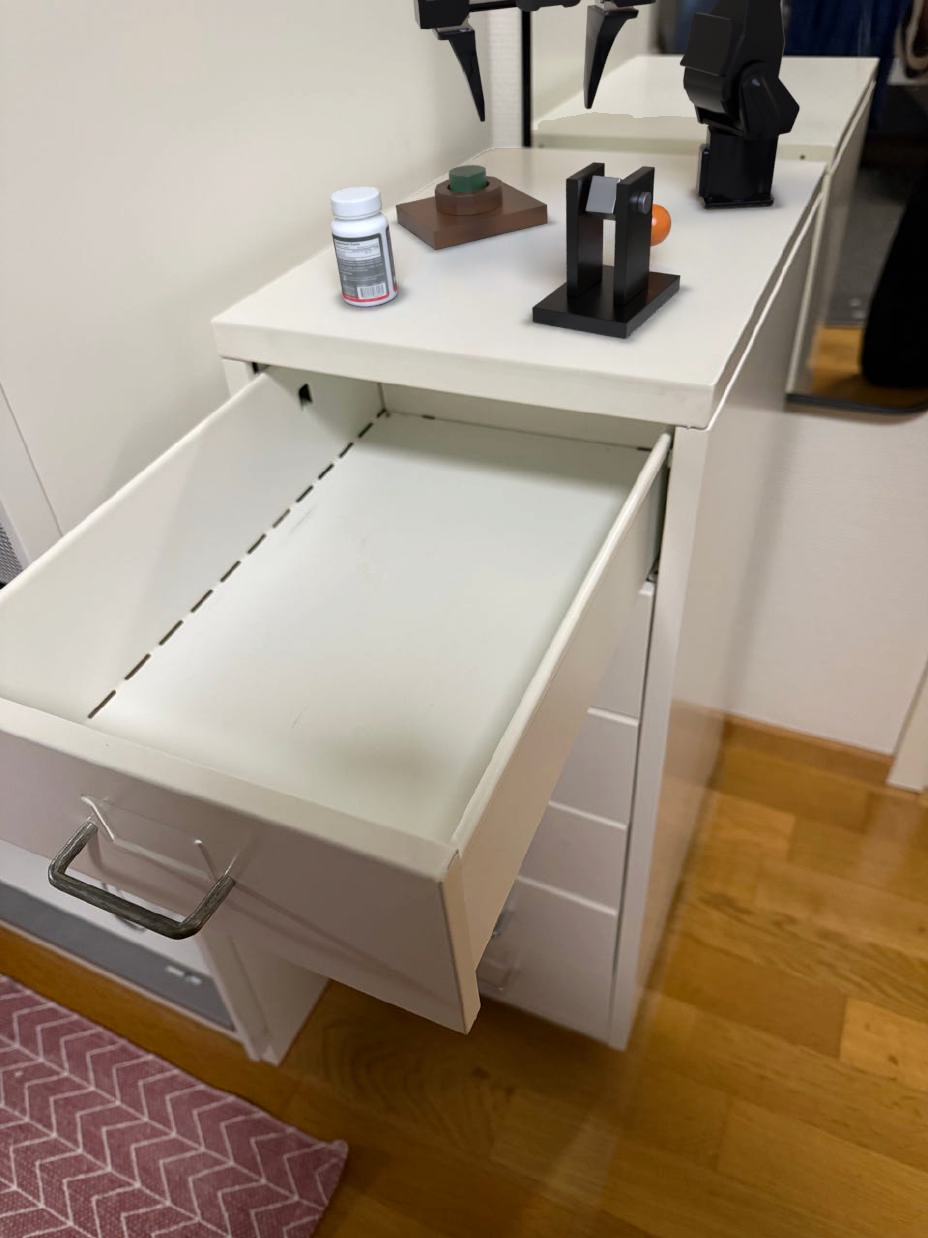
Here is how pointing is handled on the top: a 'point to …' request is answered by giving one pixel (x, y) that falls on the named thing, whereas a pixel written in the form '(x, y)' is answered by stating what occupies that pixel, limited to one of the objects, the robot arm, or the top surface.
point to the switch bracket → (606, 291)
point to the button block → (470, 213)
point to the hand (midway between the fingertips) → (535, 114)
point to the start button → (467, 178)
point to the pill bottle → (363, 247)
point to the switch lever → (605, 207)
